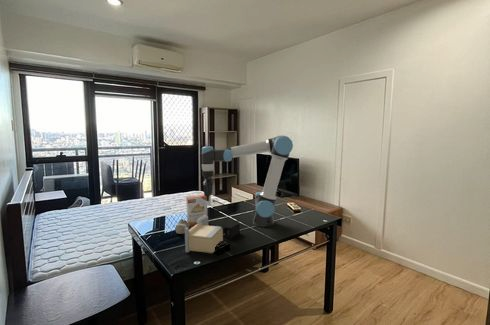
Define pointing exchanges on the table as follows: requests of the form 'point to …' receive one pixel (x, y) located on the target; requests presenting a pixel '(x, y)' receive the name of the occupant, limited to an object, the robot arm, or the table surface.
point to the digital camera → (232, 230)
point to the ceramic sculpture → (182, 226)
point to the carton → (202, 241)
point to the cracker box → (195, 208)
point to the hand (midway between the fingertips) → (208, 205)
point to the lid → (203, 231)
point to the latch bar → (201, 218)
